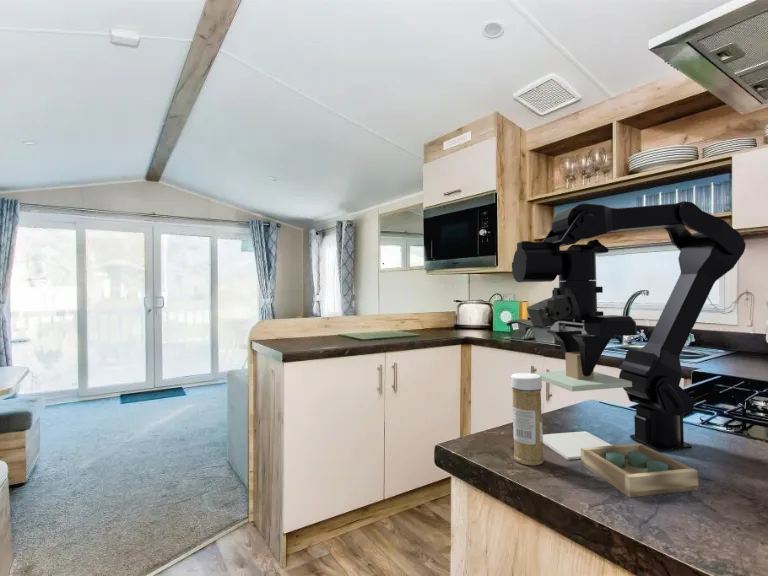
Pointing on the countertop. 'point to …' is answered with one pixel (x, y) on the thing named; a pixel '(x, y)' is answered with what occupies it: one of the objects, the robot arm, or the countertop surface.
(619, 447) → the box
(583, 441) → the mat
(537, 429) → the sprinkles bottle
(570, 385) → the lid
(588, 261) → the robot arm
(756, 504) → the countertop surface
